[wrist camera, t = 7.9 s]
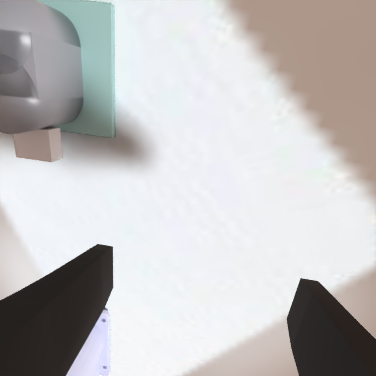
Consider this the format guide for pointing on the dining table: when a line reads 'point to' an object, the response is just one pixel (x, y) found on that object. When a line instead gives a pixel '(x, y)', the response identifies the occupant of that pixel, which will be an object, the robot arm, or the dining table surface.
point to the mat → (93, 65)
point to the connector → (38, 77)
